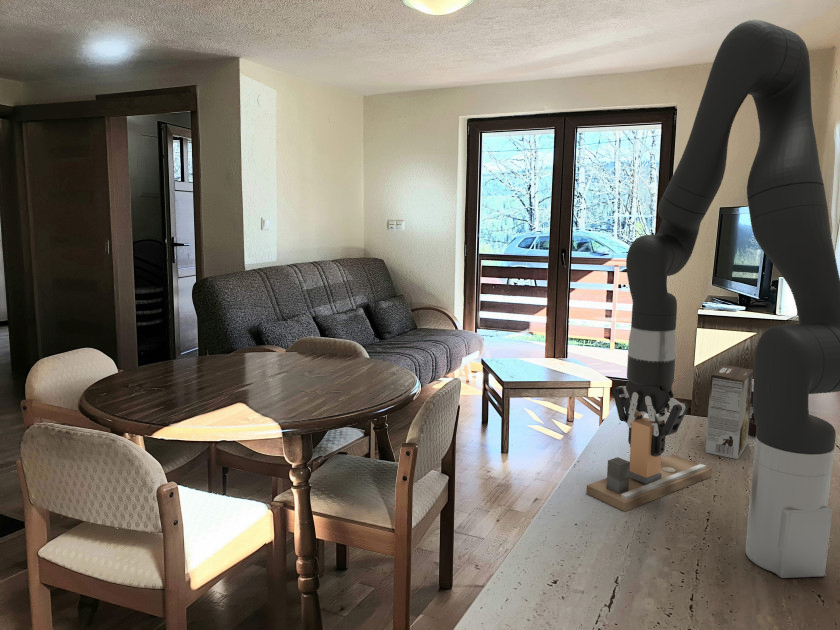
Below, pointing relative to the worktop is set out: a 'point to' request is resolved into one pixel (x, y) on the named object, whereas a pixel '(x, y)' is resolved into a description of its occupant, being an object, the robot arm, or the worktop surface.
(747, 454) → the worktop surface
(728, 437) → the coffee box
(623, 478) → the wooden slider board
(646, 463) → the block
